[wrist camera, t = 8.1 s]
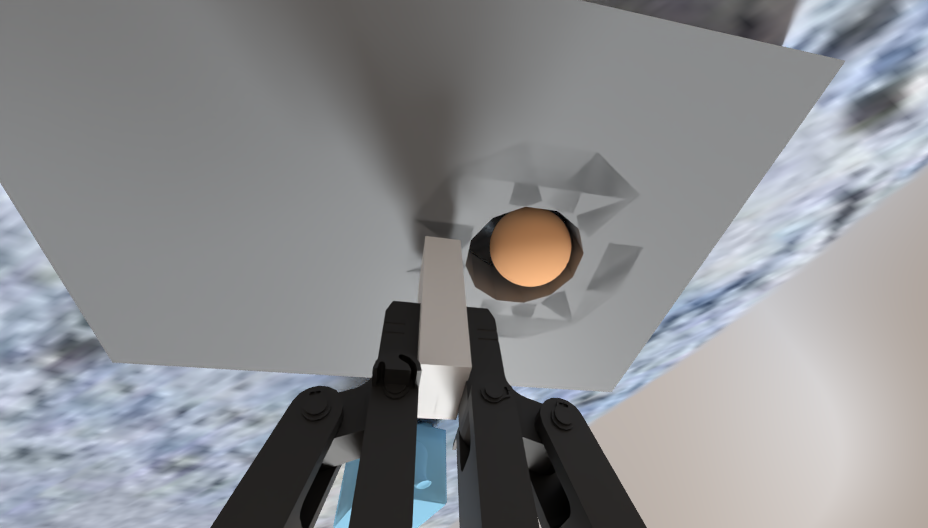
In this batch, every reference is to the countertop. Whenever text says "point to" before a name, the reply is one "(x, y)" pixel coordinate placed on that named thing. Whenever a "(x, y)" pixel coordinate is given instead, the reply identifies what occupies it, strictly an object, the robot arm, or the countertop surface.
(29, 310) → the countertop surface
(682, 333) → the countertop surface
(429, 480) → the light blue teapot
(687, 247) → the plate
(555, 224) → the ball
